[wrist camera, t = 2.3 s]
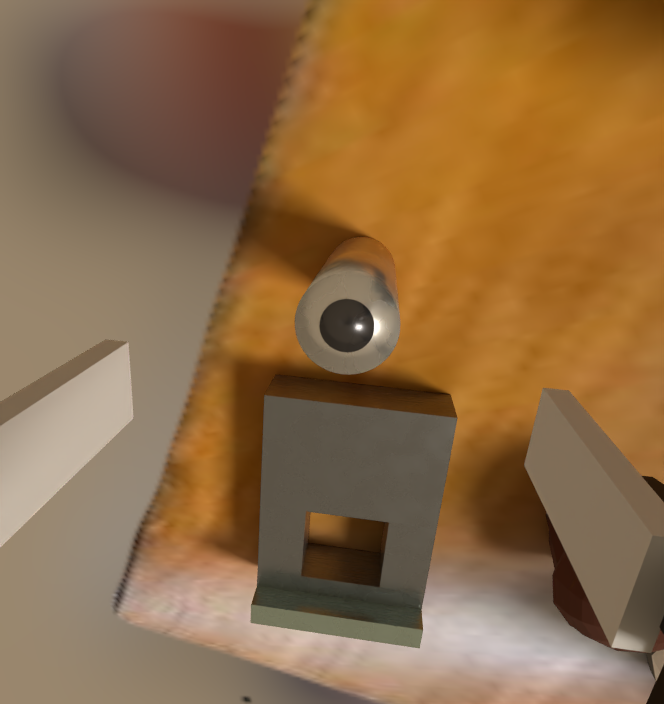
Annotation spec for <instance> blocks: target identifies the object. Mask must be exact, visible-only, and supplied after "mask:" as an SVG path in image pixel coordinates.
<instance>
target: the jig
mask: <svg viewBox="0 0 664 704" xmlns="http://www.w3.org/2000/svg"><path fill="white" fill-rule="evenodd" d="M456 423H457V415H456V412H455V408H454V405H453V401H452V398H451V395H449V394H440V393H432V392H423V391H414V390H406V389H397V388H388V387H380V386H371V385H362V384H354V383H345V382H337V381H328V380H319V379H311V378H302V377H293V376H285V375H275V377H274V378H273V380H272V382H271V384H270V386H269V388H268V389H267V391H266V393H265V395H264V417H263V444H262V470H261V497H260V523H259V550H258V576H257V588H256V591H255V594H254V597H253V601H252V604H251V623H255V624H262V625H268V626H275V627H281V628H288V629H295V630H301V631H308V632H315V633H321V634H328V635H335V636H341V637H348V638H354V639H361V640H368V641H374V642H381V643H388V644H394V645H401V646H408V647H414V648H420V643H421V638H422V633H423V624H422V611H421V609H422V603H423V598H424V593H425V588H426V582H427V577H428V572H429V566H430V561H431V556H432V550H433V545H434V540H435V534H436V529H437V524H438V518H439V513H440V508H441V503H442V497H443V492H444V487H445V481H446V476H447V471H448V465H449V460H450V455H451V449H452V444H453V439H454V433H455V428H456ZM310 512H315V513H322V514H330V515H337V516H345V517H352V518H360V519H367V520H375V521H382V522H384V529H383V536H382V543H381V550H380V553H376V552H369V551H362V550H354V549H347V548H340V547H333V546H325V545H318V544H311V543H308V537H309V525H310Z"/></svg>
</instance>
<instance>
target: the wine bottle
mask: <svg viewBox="0 0 664 704" xmlns="http://www.w3.org/2000/svg"><path fill="white" fill-rule="evenodd" d="M647 658H648V664H649V667H650V670H651V672H652V674H653V676H654V678H655V680H656V681H657V678H658V676H659V674H660V672H661V669H662V667H663V665H664V650H660V651H656V652H651V653H647Z"/></svg>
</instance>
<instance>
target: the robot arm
mask: <svg viewBox="0 0 664 704" xmlns="http://www.w3.org/2000/svg"><path fill="white" fill-rule="evenodd" d="M132 419H133V406H132V389H131V374H130V359H129V344H128V342H123V341H114V340H104V341H102V342H101V343H99V344H97V345H96V346H94V347H92V348H90V349H89V350H87V351H85V352H84V353H82V354H80V355H79V356H77V357H75V358H74V359H72V360H70V361H69V362H67V363H65V364H64V365H62V366H60V367H58V368H57V369H55V370H53V371H52V372H50V373H48V374H47V375H45V376H43V377H42V378H40V379H38V380H37V381H35V382H33V383H31V384H30V385H28V386H26V387H25V388H23V389H21V390H20V391H18V392H16V393H14V394H13V395H12V396H9V397H8V398H6V399H4V400H3V401H1V402H0V547H1V546H2V545H3V544H4V543H5V542H6V541H7V540H8V539H9V538H10V537H11V536H12V535H13V534H14V533H15V532H17V530H19V529H20V528H21V527H22V526H23V525H24V524H25V523H26V522H27V521H28V520H29V519H30V518H31V517H32V516H33V515H34V514H35V513H36V512H37V511H38V510H39V509H40V508H41V507H42V506H43V505H44V504H45V503H46V502H47V501H48V500H50V498H52V497H53V496H54V495H55V494H56V493H57V492H58V491H59V490H60V489H61V488H62V487H63V486H64V485H65V484H66V483H67V482H68V481H69V480H70V479H71V478H72V477H73V476H74V475H75V474H76V473H77V472H78V471H79V470H80V469H81V468H82V467H83V466H84V465H85V464H86V463H88V462H89V461H90V460H91V459H92V458H93V457H94V456H95V455H96V454H97V453H98V452H99V451H100V450H101V449H102V448H103V447H104V446H105V445H106V444H107V443H108V442H109V441H110V440H111V439H112V438H113V437H114V436H115V435H116V434H117V433H118V432H119V431H121V430H122V429H123V428H124V427H125V426H126V425H127V424H128V423H129V422H130V421H131V420H132ZM524 466H525V468H526V470H527V472H528V475H529V477H530V479H531V481H532V483H533V485H534V487H535V489H536V491H537V493H538V495H539V497H540V500H541V502H542V504H543V506H544V508H545V510H546V512H547V514H548V516H549V518H550V520H551V523H552V525H553V527H554V529H555V531H556V533H557V535H558V537H559V539H560V541H561V543H562V545H563V548H564V550H565V552H566V554H567V556H568V558H569V560H570V562H571V564H572V566H573V568H574V571H575V573H576V575H577V577H578V579H579V581H580V583H581V585H582V587H583V589H584V591H585V593H586V596H587V598H588V600H589V602H590V604H591V606H592V608H593V610H594V612H595V614H596V616H597V619H598V621H599V623H600V625H601V627H602V629H603V631H604V633H605V635H606V637H607V639H608V641H609V644H610V646H611V647H612V648H619V649H626V650H633V651H640V652H647V653H651V652H652V649H653V647H654V645H655V642H656V640H657V637H658V635H659V632H660V630H661V631H662V632H663V634H664V484H662V483H661V482H659V481H658V480H656V479H655V478H653V477H648V476H641V475H640V474H639V473H638V471H637V470H636V469H635V468H634V467H633V466H632V464H631V463H630V462H629V461H628V460H627V458H626V457H625V456H624V455H623V454H622V453H621V451H620V450H619V449H618V448H617V447H616V446H615V444H614V443H613V442H612V441H611V440H610V438H609V437H608V436H607V435H606V434H605V433H604V431H603V430H602V429H601V428H600V427H599V426H598V424H597V423H596V422H595V421H594V420H593V419H592V417H591V416H590V415H589V414H588V413H587V411H586V410H585V409H584V408H583V407H582V406H581V404H580V403H579V402H578V401H577V400H576V399H575V397H574V396H573V395H572V394H571V393H570V391H568V390H559V389H549V388H543V390H542V394H541V398H540V403H539V407H538V411H537V415H536V419H535V423H534V427H533V431H532V435H531V439H530V443H529V447H528V451H527V455H526V459H525V464H524ZM646 704H664V665H663V667H662V669H661V672H660V674H659V676H658V678H657V681H656V683H655V685H654V687H653V690H652V692H651V694H650V696H649V699H648V701H647V703H646Z"/></svg>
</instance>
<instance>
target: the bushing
mask: <svg viewBox="0 0 664 704" xmlns="http://www.w3.org/2000/svg"><path fill="white" fill-rule="evenodd" d="M295 330H296V335H297V339H298V341H299V344H300V346H301V347H302V349H303V351H304V352H305V353H306V355H307V356H308V357H309V358H310V359H311V360H312V361H313V362H314V363H316V364H317V365H318V366H320V367H322V368H324V369H326V370H328V371H331V372H334V373H338V374H348V375H350V374H359V373H363V372H366V371H369V370H371V369H373V368H375V367H377V366H378V365H380V364H381V363H382V362H383V361H385V360H386V359H387V358H388V356H389V355H390V354H391V352H392V351H393V349H394V348H395V346H396V343H397V341H398V338H399V333H400V315H399V304H398V294H397V283H396V272H395V264H394V260H393V257H392V255H391V253H390V252H389V250H388V249H387V248H386V247H385V246H384V245H383V244H382V243H380V242H379V241H377V240H375V239H372V238H369V237H354V238H350V239H348V240H346V241H344V242H342V243H341V244H340V245H338V246H337V247H336V248H335V250H334V251H333V252H332V254H331V255H330V257H329V258H328V260H327V261H326V263H325V264H324V266H323V267H322V269H321V270H320V272H319V273H318V275H317V276H316V277H315V279H314V280H313V282H312V283H311V285H310V286H309V288H308V289H307V291H306V292H305V294H304V295H303V297H302V298H301V300H300V302H299V305H298V307H297V311H296V315H295Z"/></svg>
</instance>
